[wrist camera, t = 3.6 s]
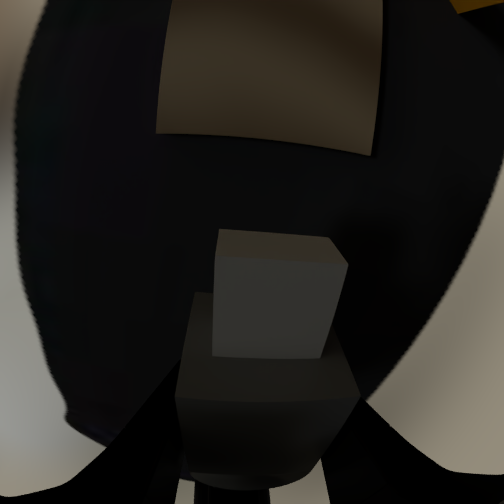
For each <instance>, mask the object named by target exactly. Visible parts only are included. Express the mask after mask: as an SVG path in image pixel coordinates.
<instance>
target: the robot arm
mask: <svg viewBox="0 0 504 504" xmlns="http://www.w3.org/2000/svg"><path fill="white" fill-rule="evenodd" d="M180 364H181V359H180V360H179V361H178V362H177V364H176V365H175V366H174V367H173V369H172V370H171V371H170V372H169V374H168V375H167V376H166V377H165V378H164V380H163V381H162V382H161V383H160V385H159V386H158V387H157V388H156V390H155V391H154V392H153V393H152V394H151V396H150V397H149V398H148V399H147V401H146V402H145V403H144V404H143V405H142V407H141V408H140V409H139V410H138V412H137V413H136V414H135V415H134V416H133V418H132V419H131V420H130V421H129V423H128V424H127V425H126V426H125V428H126V429H125V428H123V430H122V431H121V432H120V433H119V435H118V436H117V437H116V438H115V439H114V440H113V441H112V442H111V444H110V445H109V446H108V447H107V448H106V449H105V450H104V451H103V452H102V453H101V454H100V455H99V456H97V457H96V458H95V459H94V460H93V461H92V462H91V463H90V464H88V465H87V466H86V467H85V468H84V469H83V470H82V471H80V472H79V473H78V474H77V475H76V476H75V477H73V478H72V479H71V480H70V481H68V482H66V483H64V484H62V485H60V486H57V487H54V488H50V489H46V490H42V491H39V492H34V493H30V494H25V495H21V496H15V497H4V496H0V504H175V499H176V493H177V488H178V483H179V477H180V472H181V467H182V462H183V457H184V452H185V450H184V445H183V440H182V435H181V430H180V425H179V419H178V414H177V408H176V402H175V392H176V386H177V380H178V375H179V369H180ZM321 462H322V467H323V471H324V476H325V481H326V485H327V490H328V495H329V500H330V504H504V474H502V475H485V474H471V473H459V472H453V471H450V470H447V469H445V468H443V467H441V466H439V465H438V464H437V463H436V462H434V461H433V460H431V459H430V458H428V457H427V456H426V455H425V454H423V453H422V452H420V451H419V450H418V449H416V448H415V447H414V446H413V445H411V444H410V443H409V442H408V441H407V440H405V439H404V438H403V437H402V436H401V435H400V434H399V433H398V432H397V431H395V429H393V428H392V427H390V425H389V424H388V423H387V422H386V421H385V420H384V419H383V418H382V417H381V416H380V415H379V414H378V413H377V412H376V411H375V410H374V409H373V408H372V407H371V406H370V405H369V404H368V403H367V402H366V401H365V400H364V399H363V398H362V397H360V399H359V400H358V402H357V404H356V405H355V407H354V409H353V410H352V412H351V414H350V415H349V417H348V418H347V420H346V422H345V423H344V425H343V426H342V428H341V429H340V431H339V432H338V434H337V435H336V437H335V438H334V440H333V441H332V443H331V444H330V446H329V447H328V449H327V450H326V451H325V453H324V454H323V456H322V457H321ZM194 504H270V495H269V489H262V490H230V489H223V488H218V487H213V486H210V485H207V484H204V483H202V482H200V481H198V480H196V479H195V491H194Z"/></svg>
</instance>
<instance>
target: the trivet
mask: <svg viewBox="0 0 504 504" xmlns="http://www.w3.org/2000/svg"><path fill="white" fill-rule="evenodd" d="M382 24H383V0H173V1H172V6H171V11H170V17H169V23H168V28H167V34H166V41H165V48H164V55H163V62H162V71H161V79H160V89H159V99H158V112H157V126H156V133H167V134H204V135H222V136H237V137H249V138H259V139H269V140H277V141H286V142H293V143H301V144H307V145H314V146H320V147H326V148H332V149H338V150H343V151H349V152H354V153H359V154H364V155H369V156H370V155H371V149H372V142H373V135H374V128H375V120H376V112H377V103H378V93H379V82H380V69H381V53H382Z"/></svg>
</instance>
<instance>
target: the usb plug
mask: <svg viewBox="0 0 504 504" xmlns="http://www.w3.org/2000/svg"><path fill="white" fill-rule="evenodd" d="M347 268H348V263H347V262H346V260H345V259H344V258H343V256H342V255H341V253H340V252H339V251H338V249H337V248H336V247H335V245H334V244H333V242H332V241H331V240H330V238H327V237H316V236H304V235H292V234H279V233H267V232H254V231H240V230H226V229H219V235H218V241H217V248H216V254H215V273H214V293H200V292H195V295H194V300H193V304H192V309H191V314H190V318H189V323H188V328H187V333H186V338H185V343H184V348H183V353H182V359H181V364H180V369H179V375H178V380H177V386H176V392H175V402H176V408H177V414H178V419H179V425H180V430H181V435H182V440H183V445H184V450H185V454H186V459H187V463H188V468H189V472H190V474H191V475H192V477H193V478H195V479H196V480H198V481H200V482H202V483H204V484H207V485H210V486H213V487H218V488H223V489H230V490H262V489H269V488H275V487H280V486H283V485H287V484H290V483H293V482H295V481H297V480H300V479H301V478H303V477H305V476H306V475H307V474H309V472H311V470H312V469H313V468H314V466H315V465H316V464H317V462H318V461H319V459H320V458H321V457H322V456H323V454H324V453H325V451H326V450H327V449H328V447H329V446H330V444H331V443H332V441H333V440H334V438H335V437H336V435H337V434H338V432H339V431H340V429H341V428H342V426H343V425H344V423H345V422H346V420H347V418H348V417H349V415H350V414H351V412H352V410H353V409H354V407H355V405H356V404H357V402H358V400H359V399H360V397H361V395H360V392H359V390H358V387H357V385H356V382H355V379H354V377H353V374H352V372H351V369H350V367H349V364H348V362H347V359H346V357H345V354H344V352H343V350H342V347H341V345H340V342H339V340H338V337H337V335H336V333H335V330H334V328H333V325H332V320H333V317H334V314H335V310H336V307H337V304H338V300H339V297H340V293H341V290H342V286H343V283H344V279H345V275H346V272H347Z"/></svg>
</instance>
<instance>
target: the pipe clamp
mask: <svg viewBox="0 0 504 504" xmlns="http://www.w3.org/2000/svg"><path fill="white" fill-rule="evenodd" d="M450 2H451V3H452V5H453V7H454V8H455V10H456V11H457V13H458V14H459V13H463V12H467V11H471V10H475V9H479V8H483V7H487V6H491V5H496V4H500V3H504V0H450Z"/></svg>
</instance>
